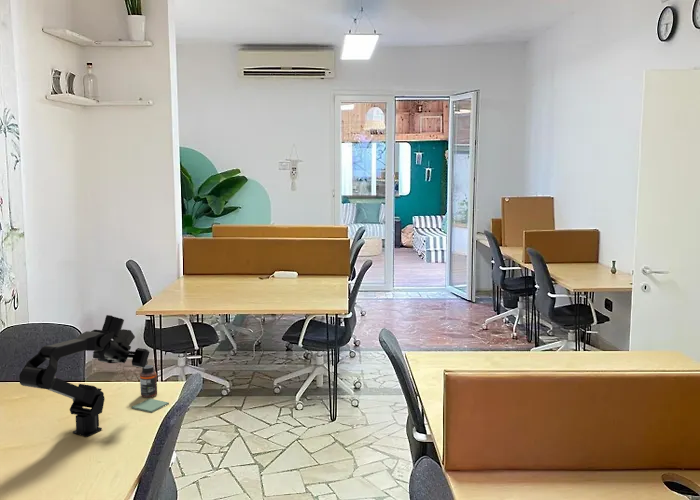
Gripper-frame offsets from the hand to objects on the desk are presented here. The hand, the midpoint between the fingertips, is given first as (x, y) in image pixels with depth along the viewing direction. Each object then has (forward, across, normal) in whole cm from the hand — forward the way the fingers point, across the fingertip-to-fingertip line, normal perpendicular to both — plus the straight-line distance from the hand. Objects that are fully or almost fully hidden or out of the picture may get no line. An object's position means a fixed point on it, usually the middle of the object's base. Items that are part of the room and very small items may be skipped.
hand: (136, 362), depth 230 cm
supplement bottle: (+16, +1, +9) cm, 18 cm away
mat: (+8, -6, +13) cm, 17 cm away
